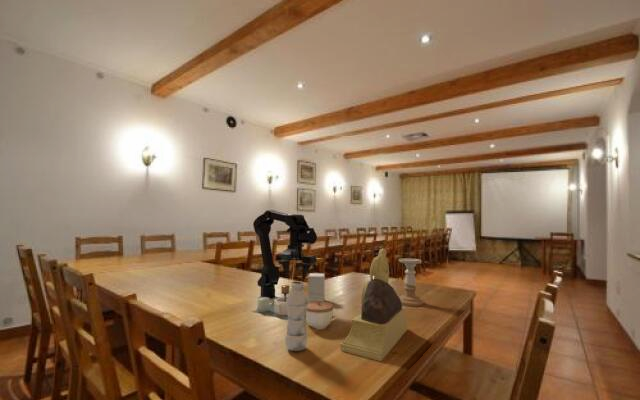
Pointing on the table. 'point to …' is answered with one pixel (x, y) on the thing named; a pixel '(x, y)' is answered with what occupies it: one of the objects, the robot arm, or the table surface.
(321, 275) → the supplement box
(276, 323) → the table surface
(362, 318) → the statue with dark rock
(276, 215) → the robot arm
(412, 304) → the candle holder
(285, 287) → the coffee tamper
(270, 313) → the slate tray
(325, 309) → the lidded jar
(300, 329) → the plastic bottle
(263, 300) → the sage green dome
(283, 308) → the octagonal white frame
